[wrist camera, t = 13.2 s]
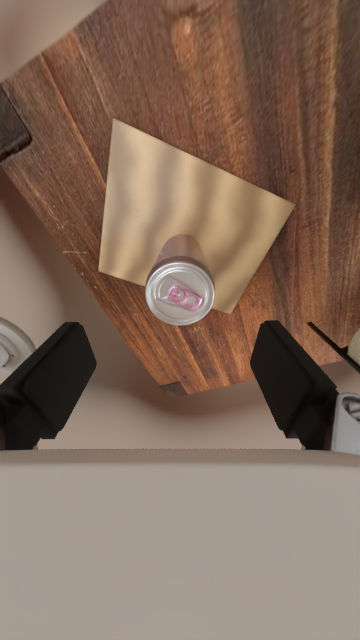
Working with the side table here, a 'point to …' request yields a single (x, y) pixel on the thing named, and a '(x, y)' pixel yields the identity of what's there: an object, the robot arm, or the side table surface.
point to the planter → (356, 350)
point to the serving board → (183, 214)
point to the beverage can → (180, 283)
